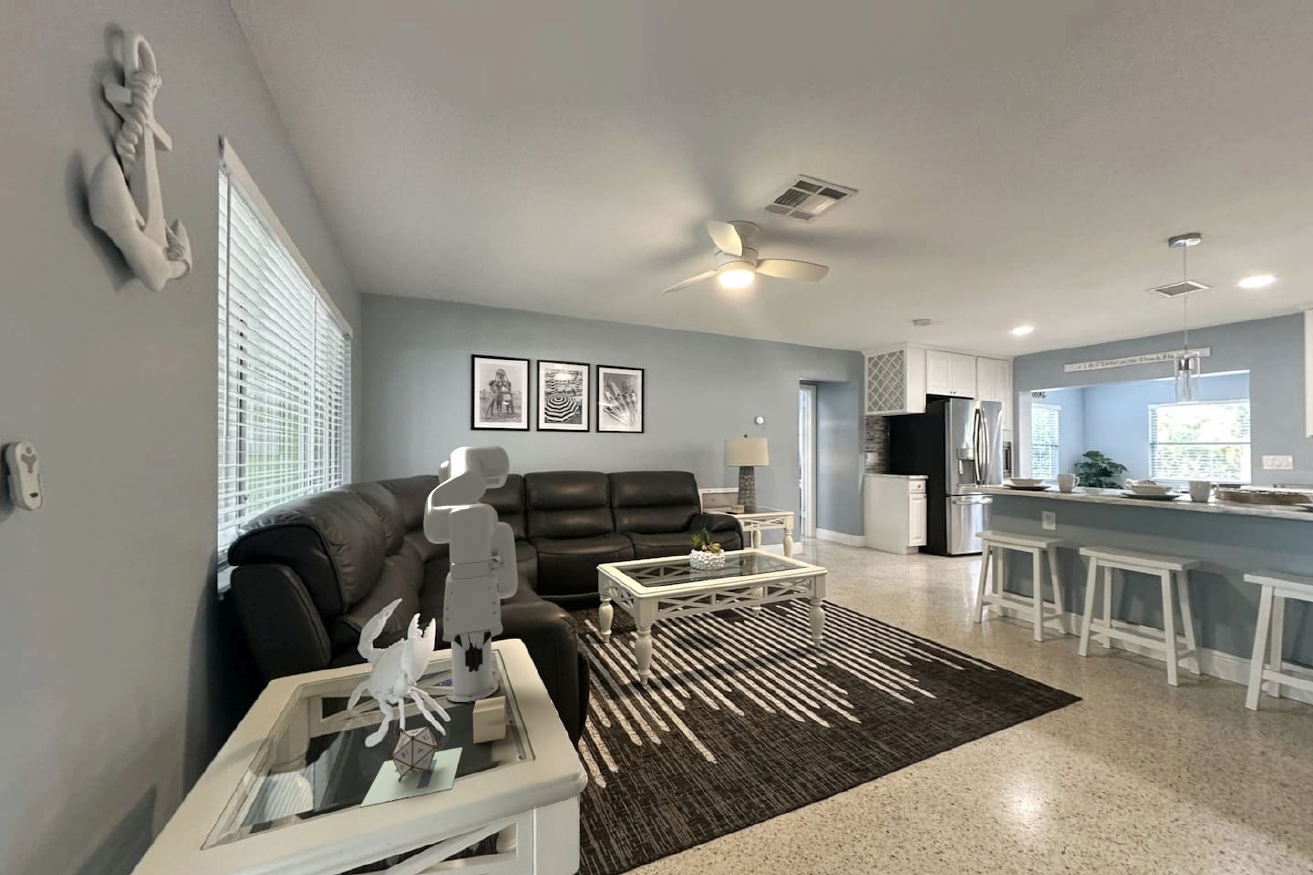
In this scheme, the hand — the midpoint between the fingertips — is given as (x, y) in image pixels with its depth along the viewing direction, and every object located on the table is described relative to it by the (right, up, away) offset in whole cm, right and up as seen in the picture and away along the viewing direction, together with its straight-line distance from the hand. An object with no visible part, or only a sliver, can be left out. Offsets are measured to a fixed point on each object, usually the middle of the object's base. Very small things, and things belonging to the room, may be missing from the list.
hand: (474, 669), depth 94 cm
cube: (0, -18, +10) cm, 20 cm away
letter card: (-9, -17, -4) cm, 20 cm away
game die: (-9, -17, -4) cm, 20 cm away
